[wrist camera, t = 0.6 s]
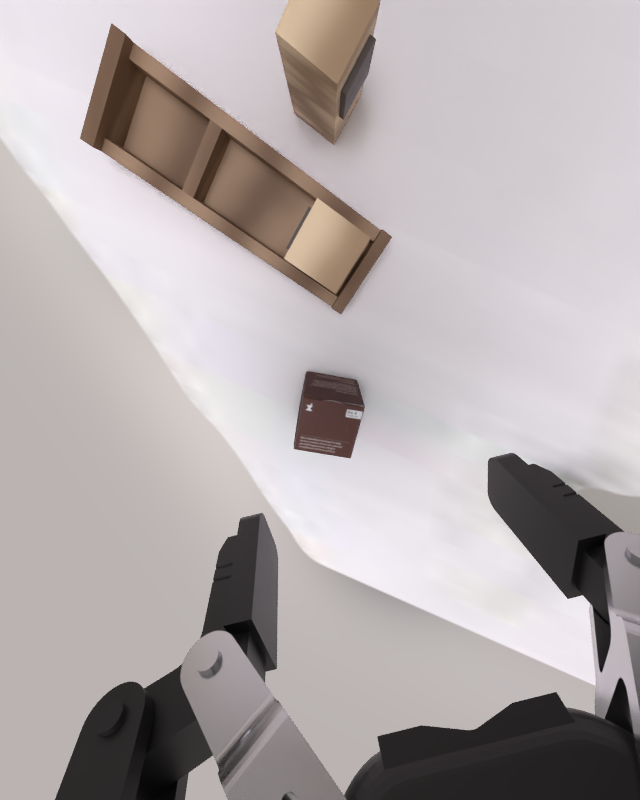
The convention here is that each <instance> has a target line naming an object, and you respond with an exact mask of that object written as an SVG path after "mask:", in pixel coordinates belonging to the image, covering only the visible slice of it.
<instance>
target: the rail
mask: <svg viewBox="0 0 640 800" xmlns="http://www.w3.org/2000/svg"><path fill="white" fill-rule="evenodd" d="M80 139H82V140H83V141H85V142H86V143H87V144H89V145H90V146H92V147H94V148H96V149H98V150H100V151H102V152H103V153H105V154H106V155H108V156H109V157H111V158H112V159H114V160H115V161H117V162H118V163H120V164H121V165H123V166H124V167H126V168H127V169H129V170H130V171H132V172H133V173H135V174H136V175H138V176H139V177H141V178H142V179H144V180H145V181H146V182H148V183H149V184H151V185H152V186H154V187H155V188H157V189H158V190H160V191H161V192H163V193H164V194H166V195H167V196H169V197H170V198H172V199H173V200H175V201H176V202H178V203H179V204H181V205H182V206H184V207H185V208H187V209H188V210H189V211H191V212H192V213H194V214H195V215H197V216H198V217H200V218H201V219H203V220H204V221H206V222H207V223H209V224H210V225H212V226H213V227H215V228H216V229H218V230H219V231H221V232H222V233H224V234H225V235H227V236H228V237H229V238H231V239H232V240H234V241H235V242H237V243H238V244H240V245H241V246H243V247H244V248H246V249H247V250H249V251H250V252H252V253H253V254H255V255H256V256H258V257H259V258H261V259H262V260H264V261H265V262H267V263H268V264H270V265H271V266H272V267H274V268H275V269H277V270H278V271H280V272H281V273H283V274H284V275H286V276H287V277H289V278H290V279H292V280H293V281H295V282H296V283H298V284H299V285H301V286H302V287H304V288H305V289H307V290H308V291H310V292H311V293H313V294H314V295H315V296H317V297H318V298H320V299H321V300H323V301H324V302H326V303H327V304H329V305H330V306H332V308H333V309H334V310H335V311H337V312H338V313H340V314H341V313H342V312H343V310H344V309H345V307H346V306H347V304H348V303H349V301H350V300H351V298H352V297H353V295H354V294H355V292H356V291H357V289H358V288H359V286H360V285H361V283H362V282H363V280H364V279H365V277H366V276H367V274H368V273H369V271H370V270H371V268H372V267H373V265H374V263H375V262H376V260H377V259H378V257H379V256H380V254H381V253H382V251H383V250H384V248H385V247H386V245H387V244H388V242H389V241H390V239H391V238H392V237H391V236H390V235H389V234H388V233H386V232H385V231H384V230H379V229H378V228H377V227H375V226H374V225H373V224H371V223H370V222H369V221H368V220H366V219H365V218H364V217H362V216H361V215H360V214H358V213H357V212H356V211H354V210H353V209H352V208H350V207H349V206H348V205H346V204H345V203H344V202H343V201H341V200H340V199H339V198H337V197H336V196H335V195H333V194H332V193H331V192H329V191H328V190H327V189H325V188H324V187H323V186H321V185H320V184H319V183H318V182H316V181H315V180H314V179H312V178H311V177H310V176H308V175H307V174H306V173H304V172H303V171H302V170H300V169H299V168H298V167H296V166H295V165H294V164H293V163H291V162H290V161H289V160H287V159H286V158H285V157H283V156H282V155H281V154H279V153H278V152H277V151H275V150H274V149H273V148H271V147H270V146H269V145H268V144H266V143H265V142H264V141H262V140H261V139H260V138H258V137H257V136H256V135H254V134H253V133H252V132H250V131H249V130H248V129H246V128H245V127H244V126H242V125H241V124H240V123H239V122H237V121H236V120H235V119H233V118H232V117H231V116H229V115H228V114H227V113H225V112H224V111H223V110H221V109H220V108H219V107H217V106H216V105H215V104H214V103H212V102H211V101H210V100H208V99H207V98H206V97H204V96H203V95H202V94H200V93H199V92H198V91H196V90H195V89H194V88H192V87H191V86H190V85H189V84H187V83H186V82H185V81H183V80H182V79H181V78H179V77H178V76H177V75H175V74H174V73H173V72H171V71H170V70H169V69H167V68H166V67H165V66H164V65H162V64H161V63H160V62H158V61H157V60H156V59H154V58H153V57H152V56H150V55H149V54H148V53H146V52H145V51H144V50H142V49H141V48H140V47H138V46H137V45H136V44H135V43H133V42H132V41H131V39H130V38H129V37H128V36H127V35H126V34H125V33H124V32H122V31H121V30H120V29H118V28H117V27H116V26H114V25H113V24H112V23H111V27H110V31H109V34H108V38H107V42H106V45H105V49H104V53H103V56H102V60H101V64H100V67H99V71H98V75H97V78H96V82H95V86H94V89H93V93H92V96H91V100H90V104H89V107H88V111H87V115H86V118H85V122H84V126H83V129H82V133H81V137H80Z"/></svg>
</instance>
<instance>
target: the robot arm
mask: <svg viewBox="0 0 640 800" xmlns="http://www.w3.org/2000/svg"><path fill="white" fill-rule="evenodd" d="M488 496H489V499H490V502H491V504H492V506H493V508H494V509H495V511H496V512H497V513H498V514H499V515H500V517H501V518H502V519H503V520H504V522H505V523H506V524H507V525H508V526H509V528H510V529H511V530H512V531H513V532H514V534H515V535H516V536H517V537H518V539H519V540H520V541H521V542H522V543H523V545H524V546H525V547H526V548H527V550H528V551H529V552H530V553H531V554H532V556H533V557H534V558H535V559H536V561H537V562H538V563H539V564H540V565H541V567H542V568H543V569H544V570H545V572H546V573H547V574H548V575H549V576H550V578H551V579H552V580H553V581H554V582H555V584H556V585H557V586H558V587H559V589H560V590H561V591H562V592H563V593H564V595H565V596H566V597H567V598H568V599H569V598H573V597H577V596H581V595H583V596H584V597H585V598H586V599H587V600H588V601H589V602H590V607H589V613H590V623H591V633H592V644H593V654H594V665H595V675H596V693H595V715H593V714H591V713H588V712H585V711H581V710H577V709H572V708H566V707H565V706H564V704H563V702H562V701H561V699H560V698H559V696H558V694H557V693H556V692H555V693H551V694H547V695H543V696H539V697H535V698H531V699H527V700H523V701H519V702H515V703H512V704H510V705H509V706H508V707H506V708H505V709H504V710H502V711H501V712H499V713H498V714H496V715H495V716H494V717H492V718H491V719H490V720H488V721H487V722H485V723H484V724H483V725H481V726H480V727H478V728H477V729H475V730H459V729H450V728H440V727H430V726H418V727H414V728H410V729H406V730H402V731H398V732H394V733H390V734H385V735H381V736H378V742H379V747H380V752H378V753H377V754H375V755H374V756H373V757H371V758H370V759H369V760H368V761H367V762H366V763H365V764H364V765H363V766H362V768H361V769H360V770H359V771H358V773H357V774H356V776H355V777H354V778H353V780H352V782H351V784H350V785H349V787H348V789H347V790H346V793H345V795H343V794H342V792H341V791H340V789H339V788H338V786H337V785H336V783H335V782H334V780H333V779H332V778H331V776H330V775H329V773H328V772H327V770H326V769H325V768H324V766H323V764H322V763H321V762H320V760H319V759H318V757H317V756H316V754H315V753H314V751H313V750H312V749H311V747H310V746H309V744H308V743H307V741H306V740H305V738H304V737H303V735H302V734H301V733H300V731H299V730H298V728H297V727H296V725H295V724H294V722H293V721H292V719H291V718H290V717H289V715H288V714H287V712H286V711H285V709H284V708H283V707H282V705H281V704H280V703H279V701H277V700H276V699H275V697H274V696H273V695H272V693H271V692H270V690H269V689H268V687H267V686H266V684H265V672H266V671H270V670H274V669H276V668H277V604H278V602H277V600H278V555H277V549H276V545H275V542H274V539H273V537H272V534H271V532H270V529H269V527H268V524H267V521H266V519H265V517H264V515H263V513H260V514H256V515H252V516H247V517H243V518H241V519H240V522H239V528H238V535H236V536H232V537H228V538H227V540H226V541H225V543H224V545H223V546H222V548H221V550H220V551H219V555H218V560H217V564H216V570H215V574H214V579H213V580H214V582H213V584H212V588H211V594H210V598H209V603H208V608H207V613H206V618H205V622H204V627H203V632H202V635H201V638H200V639H199V640H198V641H197V642H196V643H195V644H194V645H193V646H192V648H191V649H190V650H189V652H188V653H187V655H186V657H185V659H184V662H183V664H182V665H180V666H179V667H178V668H177V669H175V670H174V671H172V672H170V673H169V674H167V675H166V676H164V677H162V678H161V679H159V680H157V681H156V682H154V683H153V684H151V685H149V686H148V687H147V688H144V689H143V687H142V686H141V685H140V684H138V683H136V682H127V683H123V684H120V685H119V686H117V687H115V688H113V689H112V690H111V691H109V692H108V693H107V694H106V695H105V696H103V698H102V699H101V700H100V701H99V702H98V703H97V704H96V705H95V707H94V708H93V709H92V711H91V712H90V714H89V715H88V717H87V719H86V721H85V723H84V725H83V727H82V730H81V732H80V735H79V738H78V740H77V743H76V746H75V748H74V751H73V754H72V756H71V759H70V762H69V764H68V767H67V770H66V772H65V775H64V777H63V780H62V783H61V785H60V788H59V791H58V793H57V796H56V799H55V800H185V794H186V787H187V780H188V773H189V772H190V771H191V770H193V769H194V768H196V767H197V766H198V765H200V764H201V763H203V762H204V761H205V760H207V759H208V758H210V757H211V756H212V755H213V756H214V758H215V760H216V762H217V765H218V768H219V772H218V775H219V778H220V782H221V784H222V787H223V789H224V792H225V794H226V796H227V798H228V800H640V534H637V533H632V532H624V531H623V530H622V529H620V528H619V527H618V526H617V525H615V524H614V523H613V522H612V521H610V520H609V519H608V518H607V517H606V516H605V515H603V514H602V513H601V512H600V511H598V510H597V509H596V508H595V507H594V506H592V505H591V504H590V503H589V502H587V501H586V500H585V499H584V498H583V497H581V496H580V495H579V494H578V495H577V494H576V492H575V491H574V490H573V489H572V488H571V487H569V486H568V485H565V483H564V482H563V481H562V480H561V479H560V478H558V477H557V476H556V475H555V474H554V473H552V472H551V471H549V470H547V469H544V468H542V467H540V466H538V465H536V464H531V465H528V464H527V463H525V462H524V461H523V460H522V459H521V458H520V457H519V456H517V455H516V454H514V453H509V454H505V455H501V456H497V457H493V458H490V459H489V461H488Z"/></svg>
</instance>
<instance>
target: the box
mask: <svg viewBox="0 0 640 800" xmlns="http://www.w3.org/2000/svg"><path fill="white" fill-rule="evenodd" d="M364 408H365V406H364V403H363V399H362V396H361V392H360V389H359V385H358V382H357V380H353V379H347V378H342V377H336V376H330V375H325V374H319V373H313V372H306V375H305V380H304V385H303V390H302V395H301V401H300V407H299V413H298V419H297V426H296V433H295V440H294V449H297V450H303V451H309V452H315V453H321V454H327V455H334V456H339V457H346V458H351V455H352V451H353V448H354V444H355V440H356V437H357V433H358V429H359V426H360V422H361V418H362V415H363V411H364Z"/></svg>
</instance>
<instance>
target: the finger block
mask: <svg viewBox="0 0 640 800" xmlns="http://www.w3.org/2000/svg"><path fill="white" fill-rule="evenodd" d="M379 5H380V0H289V1H288V4H287V6H286V8H285V11H284V13H283V15H282V18H281V20H280V22H279V25H278V27H277V29H276V32H275V33H276V37H277V41H278V46H279V50H280V54H281V58H282V63H283V67H284V71H285V76H286V80H287V84H288V88H289V93H290V97H291V101H292V105H293V110H294V113H295V114H296V115H297V116H298V117H300V118H301V119H302V120H303V121H305V122H306V123H307V124H308V125H310V126H311V127H312V128H313V129H315V130H316V131H317V132H318V133H320V134H321V135H322V136H323V137H325V138H326V139H327V140H328V141H330V142H331V143H332V144H334V143H335V141H336V140H337V138H338V136H339V134H340V132H341V130H342V128H343V127H344V125H345V123H346V121H347V119H348V117H349V115H350V114H351V112H352V110H353V108H354V106H355V104H356V102H357V101H358V99H359V97H360V95H361V91H362V86H363V82H364V81H365V79H366V77H367V75H368V72H369V67H370V63H371V58H372V54H373V50H374V45H375V41H376V39H375V38H374V37H373V33H374V29H375V24H376V19H377V14H378V9H379Z"/></svg>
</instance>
